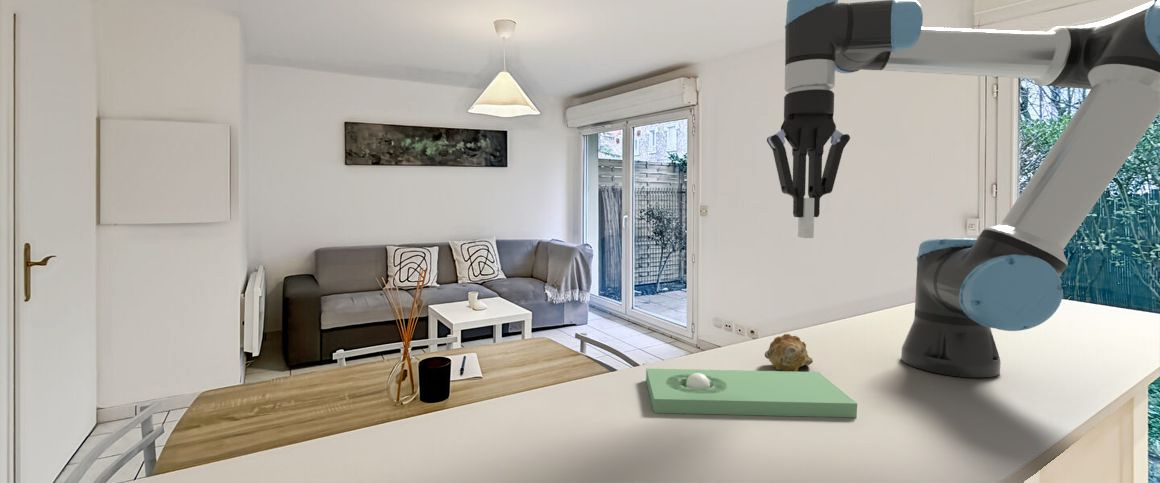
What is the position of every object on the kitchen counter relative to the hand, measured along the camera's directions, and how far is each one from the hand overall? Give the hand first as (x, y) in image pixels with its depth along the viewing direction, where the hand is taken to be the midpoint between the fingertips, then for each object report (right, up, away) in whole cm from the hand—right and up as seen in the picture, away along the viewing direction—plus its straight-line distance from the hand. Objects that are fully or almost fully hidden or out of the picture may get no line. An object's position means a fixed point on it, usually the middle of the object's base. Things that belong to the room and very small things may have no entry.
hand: (805, 237), depth 94 cm
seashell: (0, -24, +7) cm, 25 cm away
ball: (-19, -23, -7) cm, 31 cm away
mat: (-13, -24, -7) cm, 28 cm away
